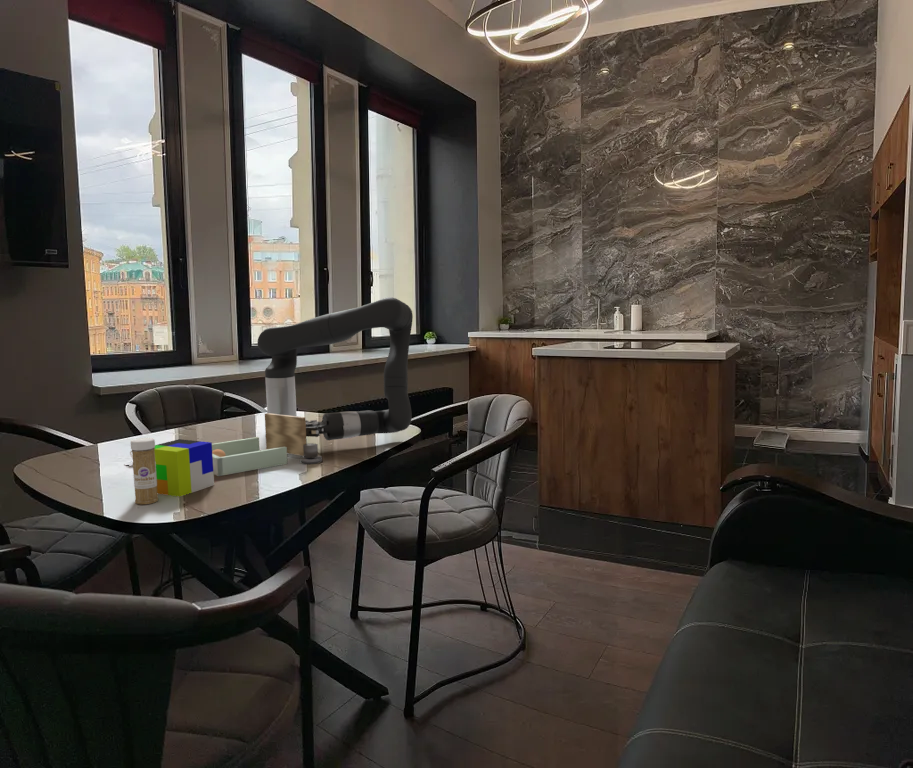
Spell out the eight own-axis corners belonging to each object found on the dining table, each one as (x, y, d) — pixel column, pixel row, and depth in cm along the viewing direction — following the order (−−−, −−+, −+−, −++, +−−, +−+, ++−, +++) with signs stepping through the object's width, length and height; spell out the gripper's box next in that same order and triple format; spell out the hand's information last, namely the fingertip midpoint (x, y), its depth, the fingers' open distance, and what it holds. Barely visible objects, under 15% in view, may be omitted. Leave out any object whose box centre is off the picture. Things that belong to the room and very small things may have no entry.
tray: (192, 463, 175) (191, 446, 174) (257, 452, 186) (257, 436, 186) (218, 476, 161) (216, 458, 161) (287, 463, 173) (286, 447, 172)
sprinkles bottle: (137, 506, 138) (132, 442, 136) (133, 501, 142) (128, 438, 140) (161, 502, 141) (156, 439, 139) (156, 497, 144) (152, 436, 143)
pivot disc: (298, 460, 176) (297, 456, 176) (319, 458, 178) (319, 454, 178) (302, 465, 171) (302, 461, 171) (324, 462, 173) (324, 458, 173)
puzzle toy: (214, 485, 154) (211, 442, 152) (179, 497, 145) (176, 451, 143) (182, 480, 158) (179, 439, 157) (146, 492, 149) (143, 448, 148)
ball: (217, 444, 174) (222, 457, 176) (204, 452, 172) (209, 465, 173) (226, 448, 171) (230, 461, 173) (212, 456, 169) (217, 469, 171)
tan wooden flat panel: (320, 455, 175) (319, 417, 174) (310, 458, 172) (309, 419, 171) (273, 448, 184) (271, 412, 183) (263, 450, 181) (261, 414, 180)
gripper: (334, 408, 194) (273, 414, 187) (347, 415, 182) (283, 421, 175) (335, 434, 195) (274, 441, 188) (349, 442, 183) (285, 450, 176)
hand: (279, 431), depth 181 cm, fingers closed
